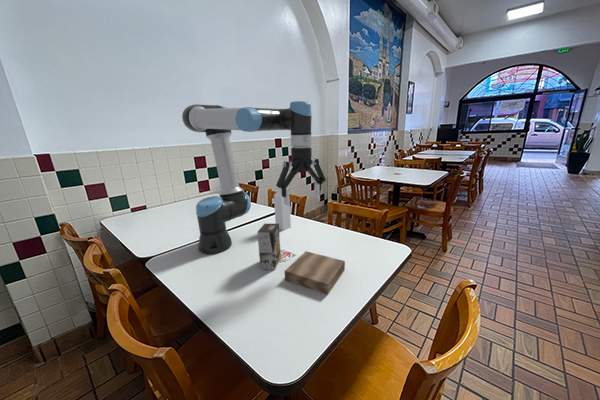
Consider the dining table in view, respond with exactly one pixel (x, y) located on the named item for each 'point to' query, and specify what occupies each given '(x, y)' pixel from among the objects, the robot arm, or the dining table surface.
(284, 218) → the milk
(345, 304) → the dining table surface
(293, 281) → the walnut pedestal
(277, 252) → the coffee box
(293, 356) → the dining table surface
